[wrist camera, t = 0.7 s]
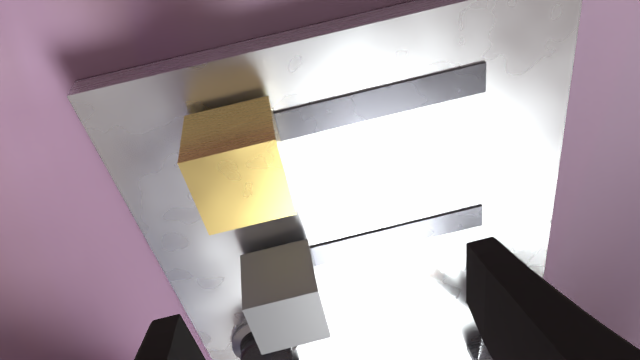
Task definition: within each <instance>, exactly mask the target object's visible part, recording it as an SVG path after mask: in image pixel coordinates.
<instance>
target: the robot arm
mask: <svg viewBox="0 0 640 360" xmlns="http://www.w3.org/2000/svg"><path fill="white" fill-rule="evenodd" d="M466 302H467V304H468V307H469V309H470V312H471V314H472V316H473V319H474V321H475V324H476V326H477V328H478V331H479V333H480V335H481V338H482V340H483V342H484V344H485V346H486V348H487V350H488V352H489V353H490V355H491V357H492V359H493V360H640V349H638V348H636V347H635V346H633V345H632V344H631V343H629V342H628V341H626V340H625V339H623V338H622V337H620V336H619V335H617V334H616V333H614V332H613V331H612V330H610V329H609V328H607V327H606V326H605V325H603V324H602V323H600V322H599V321H597V320H596V319H595V318H593V317H592V316H591V315H589V314H588V313H587V312H585V311H584V310H582V309H581V308H580V307H579V306H577V305H576V304H575V303H573V302H572V301H571V300H570V299H568V298H567V297H566V296H564V295H563V294H562V293H560V292H559V291H558V290H557V289H555V288H554V287H553V286H552V285H550V284H549V283H548V282H547V281H545V280H544V279H543V278H542V277H540V276H539V275H538V274H537V273H536V272H534V271H533V270H532V269H531V268H530V267H528V266H527V265H526V264H525V263H524V262H522V261H521V260H520V259H519V258H518V257H517V256H515V255H514V254H513V253H512V252H511V251H510V250H509V249H507V248H506V247H505V246H504V245H503V244H502V243H501V242H499V241H498V240H497V239H496V238H494V237H488V238H484V239H480V240H476V241H472V242H468V243H466ZM134 360H206V359H205V358H204V356H203V354H202V352H201V351H200V349H199V347H198V345H197V344H196V342H195V340H194V338H193V336H192V335H191V333H190V331H189V329H188V328H187V326H186V324H185V322H184V321H183V319H182V317H181V315H180V314H177V315H173V316H169V317H165V318H161V319H157V320H153V321H152V323H151V324H150V326H149V328H148V330H147V333H146V335H145V337H144V339H143V341H142V344H141V346H140V348H139V350H138V352H137V355H136V357H135V359H134Z"/></svg>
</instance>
